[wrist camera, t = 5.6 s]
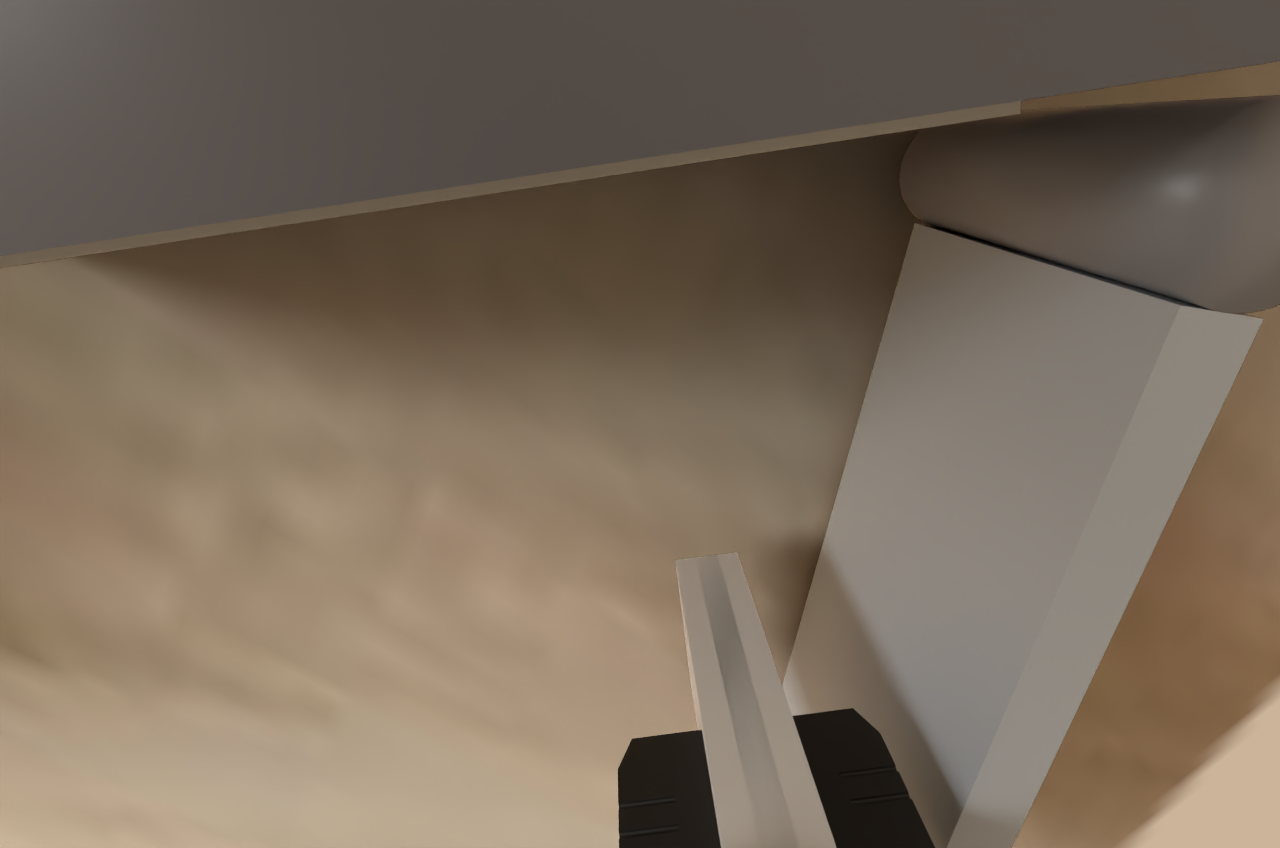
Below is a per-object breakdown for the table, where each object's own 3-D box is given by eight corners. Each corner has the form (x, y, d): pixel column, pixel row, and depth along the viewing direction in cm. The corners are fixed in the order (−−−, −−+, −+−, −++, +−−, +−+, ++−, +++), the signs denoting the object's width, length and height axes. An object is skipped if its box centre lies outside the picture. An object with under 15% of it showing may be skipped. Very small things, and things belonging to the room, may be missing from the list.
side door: (846, 762, 17) (967, 1108, 11) (741, 751, 17) (805, 1095, 11) (1063, 131, 12) (1500, 128, 6) (917, 105, 12) (1218, 75, 6)
